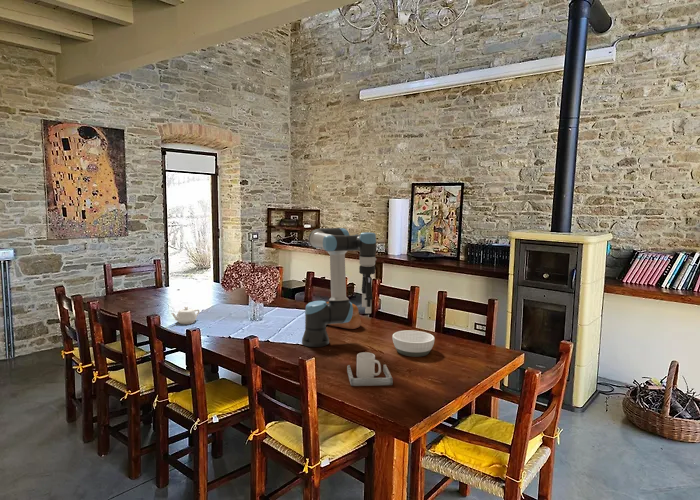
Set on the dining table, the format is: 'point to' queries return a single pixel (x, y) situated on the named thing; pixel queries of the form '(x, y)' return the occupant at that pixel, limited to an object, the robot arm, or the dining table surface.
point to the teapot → (186, 316)
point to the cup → (367, 365)
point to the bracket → (370, 379)
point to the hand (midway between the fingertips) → (366, 309)
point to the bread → (353, 322)
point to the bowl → (413, 343)
